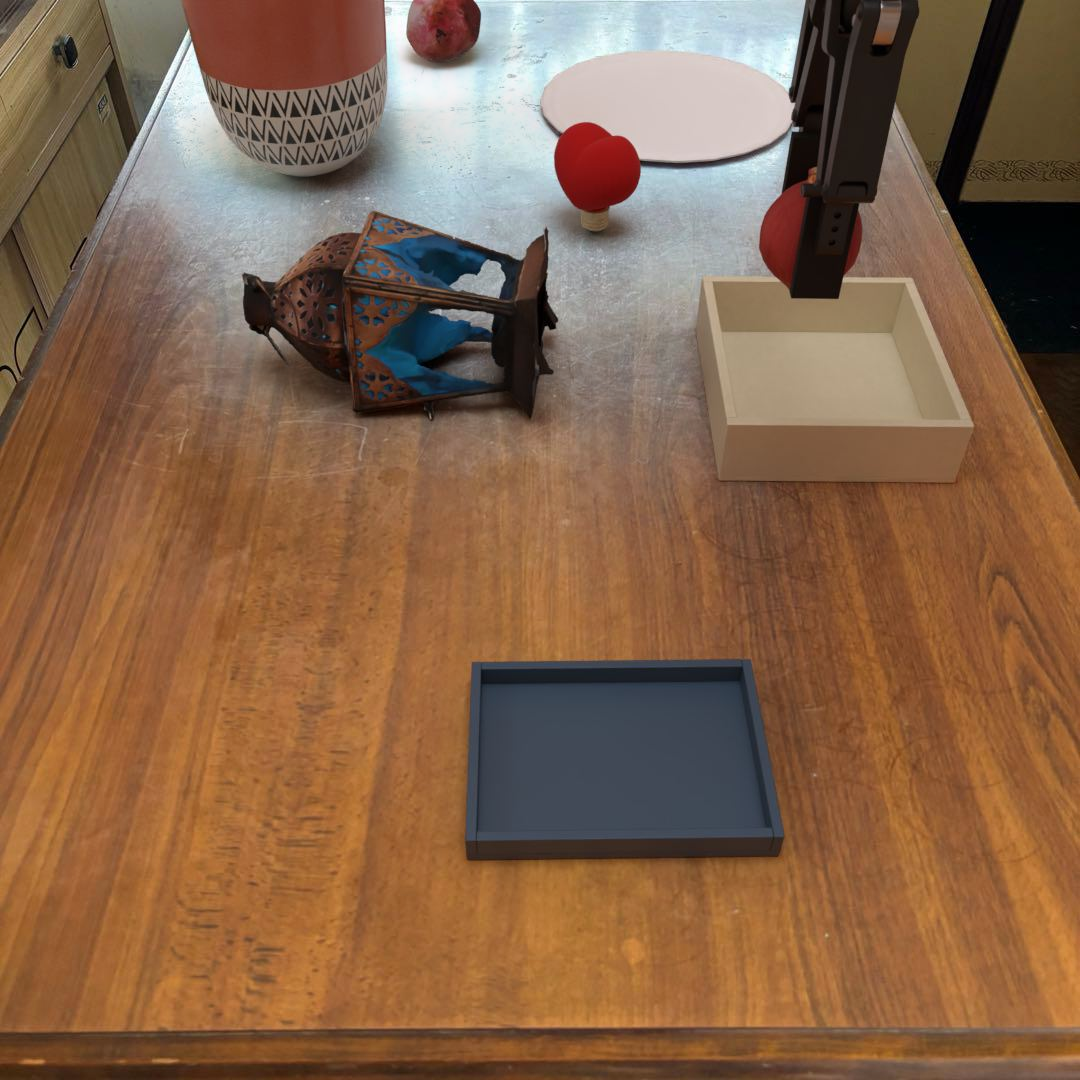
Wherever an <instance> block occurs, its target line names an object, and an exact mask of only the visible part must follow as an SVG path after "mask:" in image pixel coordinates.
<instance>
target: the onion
mask: <svg viewBox="0 0 1080 1080" xmlns="http://www.w3.org/2000/svg"><path fill="white" fill-rule="evenodd" d="M816 172H817V167H814V168H812V169H809V177H808V180H805V181H802V182H800V183H797V184H795V185H793V186H791V187H790V188H788V189H787V190H786V191H785V192H783V193H782V192H781V193H780V195H779V196H778V197H777V198H776V199H775V201H773V203H771V205H770V206H769V208H768V209H767V211H766V212H765V214H764V215H763V218H762V222H761V225H760V229H759V243H758V249H759V253H760V256H761V259H762V261H763V263H764V264H765V266H766V268H767V269H768V270H769V272H771V274H772V275H773V277H776V278H777V279H779V280H780V281H781V282H782V283H783V284H784V285H785V286H786V287H787V288H788V289H789V290H790V285H791V279H792V274H793V268H794V263H795V257H796V252H797V246H798V241H799V235H800V230H801V224H802V219H803V214H804V208H805V203H806V197H801V183H810V184H814V181H816ZM861 216H862V215H861V214H860V211H859V210H858V213H857V217H856V222H855V226H854V231H853V235H852V240H851V245H850V249H849V254H848V258H847V263H846V267H845V272H844V276H845V275H846V274H847V273H848V272H849V271H850V270H851V268H852V267H853V266H854V265H855V264H856V261H857V258H858V256H859V253H860V250H861V245H862V242H863V241H862V240H863V223H862V217H861Z"/></svg>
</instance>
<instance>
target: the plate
mask: <svg viewBox="0 0 1080 1080" xmlns="http://www.w3.org/2000/svg"><path fill="white" fill-rule="evenodd" d="M542 90H543V91H542V94H541V97H540V101H539V102H540V107H541V110H542V113H543V116H544V118H545V120H546V121H547V122H548V123H549V124H550V125H551V126H552V127H553V128H554V130H556V131H557V132H558V133H559V134H561V135H562V134H563V133H564V132H565V130H566V129H568V128H569V127H571V126H573V125H574V124H578V123H582V122H591V123H595V124H597V125H599V126H601V127H602V128H604V129H605V130H606V131H608V132H609V133H610V134H611V135H612V136H623V137H625V138H626V139H628V140H629V141H630V142H631V143H632V145H633V146H634V148H635V149H636V151H637V154H638V157H639V160H640V162H641V161H642V162H653V163H654V162H655V163H657V162H658V163H672V164H673V163H674V164H684V163H699V162H701V163H702V162H703V163H704V162H714V161H718V160H725V159H729V158H734V157H739V156H744V155H747V154H750V153H751V152H754V151H756V150H759V149H761V148H764V147H766V146H770V145H771V144H773V143H774V142H775V141H776V140H778V139H779V138H781V137H782V136H783V135H784V134H786V133H787V132H788V130H789V129H790V127H791V125H793V121H792V120H791V115H792V112H793V109H794V106H795V103H791V102H790V99H789V91H788V90H787V89H786V87H785V86H783V85H782V84H781V83H779V82H778V81H777V80H775V79H774V78H773V77H771V75H769V74H767V73H765V72H762V71H760V70H759V69H756V68H754V67H752V66H750V65H747V64H745V63H742V62H739V61H735V60H731V59H728V58H724V57H721V56H717V55H711V54H705V53H699V52H693V51H682V50H663V49H662V50H661V49H653V50H632V51H623V52H617V53H611V54H606V55H600V56H596V57H593V58H590V59H588V60H584V61H582V62H577V63H575V64H573V65H572V66H570V67H568V68H566V69H565V70H562V71H560V72H558V73H556V75H554V77H553V78H552V79H551V80H550V81H549V82H548V83H547V84H546V85H545V86H544V87H543V89H542Z"/></svg>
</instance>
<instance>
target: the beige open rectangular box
mask: <svg viewBox="0 0 1080 1080" xmlns="http://www.w3.org/2000/svg"><path fill="white" fill-rule="evenodd" d="M698 301H699V302H698V306H697V307H698V308H697V316H696V323H695V335H696V341H697V348H698V354H699V360H700V366H701V367H700V368H701V374H702V380H703V381H702V382H703V386H704V393H705V400H706V407H707V413H708V419H709V427H710V433H711V439H712V445H713V451H714V460H715V465H716V472H717V479H718V481H719V482H720V481H724V482H726V481H728V482H729V481H730V482H732V481H733V482H826V483H827V482H830V483H831V482H833V483H835V482H838V483H840V482H841V483H842V482H844V483H936V484H937V483H938V484H939V483H945V484H947V483H949V484H950V483H952V484H953V483H956V479H957V477H958V473H959V471H960V467H961V466H962V462H963V460H964V457H965V454H966V451H967V449H968V447H969V444H970V440H971V438H972V435H973V433H974V430H975V425H974V422H973V420H972V417H971V415H970V413H969V410H968V407H967V405H966V403H965V400H964V398H963V396H962V393H961V390H960V389H959V386H958V384H957V382H956V379H955V377H954V374H953V372H952V370H951V367H950V365H949V363H948V360H947V358H946V356H945V353H944V351H943V349H942V345H941V343H940V341H939V339H938V336H937V334H936V332H935V329H934V327H933V324H932V322H931V320H930V317H929V315H928V312H927V310H926V308H925V305H924V302H923V301H922V297H921V295H920V293H919V290H918V287H917V286H916V283H915V281H914V279H913V277H877V276H876V277H875V276H874V277H865V276H864V277H863V276H861V277H860V276H857V277H856V276H855V277H854V276H843V281H842V286H841V290H840V295H839V299H794V298H791V296H790V292H789V289H788V288H787V287H786V286H785V285H784V284H783V283H782V282H781V281H780V280H779V279H777V278H776V277H775V276H754V275H753V276H751V275H749V276H745V275H744V276H742V275H740V276H739V275H735V276H734V275H723V276H722V275H702V276H701V282H700V291H699V299H698Z"/></svg>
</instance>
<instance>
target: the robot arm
mask: <svg viewBox="0 0 1080 1080" xmlns="http://www.w3.org/2000/svg"><path fill="white" fill-rule="evenodd" d="M919 16H920V7H919V0H805V2H804V8H803V13H802V19H801V24H800V25H801V26H800V31H799V36H798V43H797V48H796V54H795V59H794V60H795V61H794V66H793V72H792V77H791V82H790V86H789V88H788V93H789V99H790V102H791V103H794V109H793V112H792V115H791V120H792V121H793V122H792V127H793V128H798V131H791V132H790V133H791V134H790V139H789V146H788V153H787V158H786V163H785V169H784V177H783V182H782V188H781V194H782V193H783V192H785V191H786V190H787V189H788V188H790V187H791V186H793V185H795V184H797V183H800V182H802V181H805V180H808V177H809V169H812V168H814V167H817V172H816V181H814V184H810V183H801V197H806V203H805V208H804V214H803V219H802V224H801V230H800V235H799V241H798V246H797V252H796V257H795V263H794V268H793V274H792V279H791V285H790V290H789V292H790V296H791V298H794V299H839V295H840V290H841V286H842V281H843V277H845V275H844V272H845V267H846V263H847V258H848V254H849V249H850V245H851V240H852V235H853V231H854V226H855V222H856V217H857V213H858V211H859V208H860V204H873V203H874V202H875V201H876V196H877V195H878V186H879V180H880V176H881V172H882V167H883V162H884V157H885V152H886V148H887V145H888V139H889V134H890V130H891V129H890V128H891V124H892V120H893V115H894V110H895V105H896V101H897V96H898V91H899V86H900V82H901V76H902V73H903V67H904V62H905V59H906V58H905V57H906V53H907V50H908V47H909V44H910V41H911V38H912V36H913V33H914V29H915V26H916V23H917V20H918V19H919Z"/></svg>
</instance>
